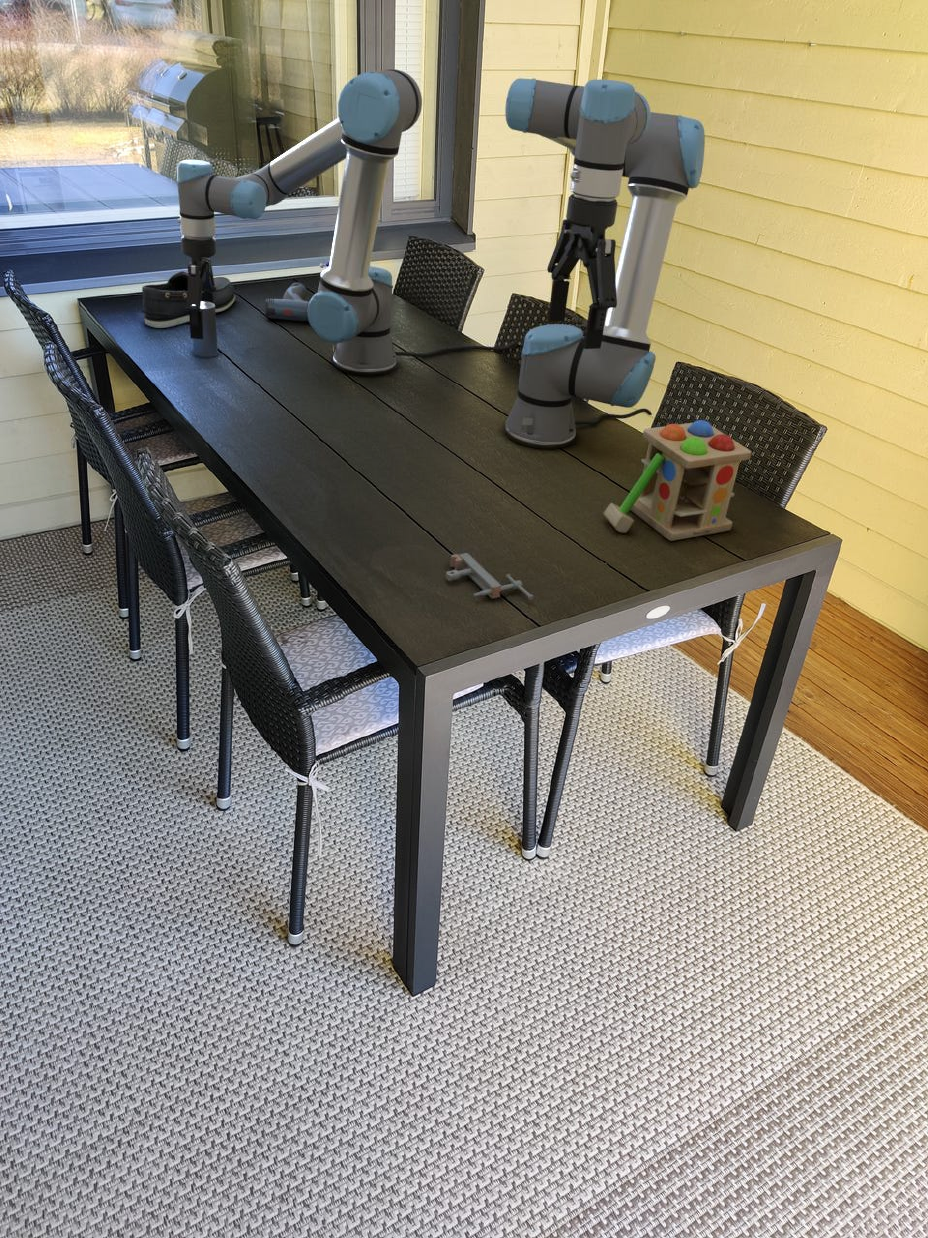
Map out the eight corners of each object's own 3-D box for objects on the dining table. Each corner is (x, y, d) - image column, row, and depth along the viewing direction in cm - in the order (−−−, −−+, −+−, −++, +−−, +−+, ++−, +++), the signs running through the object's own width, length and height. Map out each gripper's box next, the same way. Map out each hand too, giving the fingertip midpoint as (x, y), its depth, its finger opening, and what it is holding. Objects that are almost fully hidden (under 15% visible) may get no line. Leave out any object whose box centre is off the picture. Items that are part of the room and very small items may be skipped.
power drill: (344, 304, 276) (335, 327, 259) (277, 298, 275) (264, 321, 258) (344, 285, 273) (335, 306, 256) (277, 279, 272) (264, 300, 255)
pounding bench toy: (630, 549, 173) (650, 456, 163) (588, 512, 183) (603, 423, 173) (732, 530, 182) (756, 441, 172) (686, 496, 193) (706, 410, 183)
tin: (200, 358, 233) (196, 309, 226) (189, 351, 236) (186, 302, 230) (221, 355, 236) (219, 306, 229) (211, 347, 239) (208, 300, 233)
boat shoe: (253, 306, 269) (251, 267, 264) (162, 330, 245) (157, 287, 240) (219, 297, 275) (216, 259, 269) (126, 320, 251) (121, 278, 245)
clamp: (435, 558, 161) (487, 546, 165) (434, 569, 162) (486, 557, 167) (482, 605, 150) (536, 591, 155) (480, 617, 152) (534, 603, 156)
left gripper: (192, 220, 231) (197, 310, 243) (168, 248, 210) (175, 345, 222) (224, 224, 231) (228, 313, 243) (204, 251, 211) (208, 348, 223)
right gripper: (538, 178, 157) (522, 310, 169) (609, 215, 138) (586, 361, 150) (579, 179, 160) (561, 309, 172) (655, 215, 141) (629, 359, 153)
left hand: (202, 328), depth 233 cm, fingers open, 13 cm apart
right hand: (573, 333), depth 161 cm, fingers open, 13 cm apart
